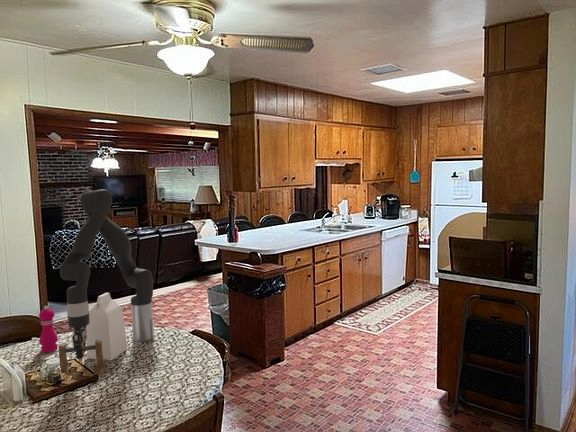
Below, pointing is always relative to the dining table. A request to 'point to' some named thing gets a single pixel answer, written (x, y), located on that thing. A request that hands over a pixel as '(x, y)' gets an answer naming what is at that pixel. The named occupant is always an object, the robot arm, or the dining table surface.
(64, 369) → the hook frame
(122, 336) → the milk
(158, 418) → the dining table surface
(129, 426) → the dining table surface
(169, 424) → the dining table surface
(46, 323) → the pepper mill
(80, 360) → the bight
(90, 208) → the robot arm
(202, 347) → the dining table surface
